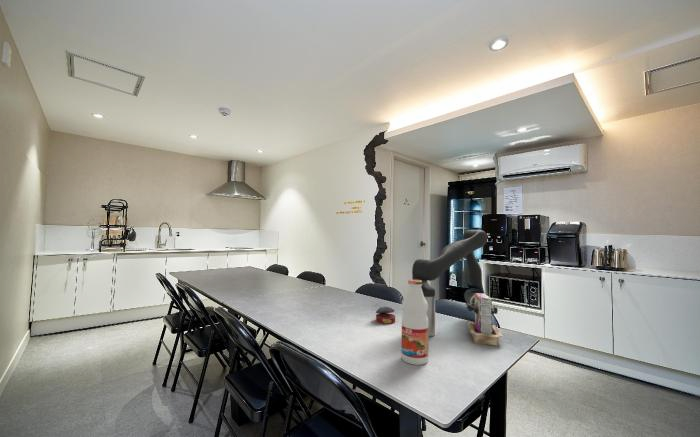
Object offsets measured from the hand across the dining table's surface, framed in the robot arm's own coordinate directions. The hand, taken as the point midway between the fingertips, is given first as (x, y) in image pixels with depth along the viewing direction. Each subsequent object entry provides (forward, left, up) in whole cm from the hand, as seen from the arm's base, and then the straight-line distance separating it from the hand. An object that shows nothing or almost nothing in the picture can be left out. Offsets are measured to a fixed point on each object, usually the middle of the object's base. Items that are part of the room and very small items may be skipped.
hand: (484, 312), depth 123 cm
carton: (0, +4, -12) cm, 13 cm away
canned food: (-45, +13, -12) cm, 48 cm away
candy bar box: (0, +4, -10) cm, 11 cm away
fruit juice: (-27, -29, -12) cm, 42 cm away
